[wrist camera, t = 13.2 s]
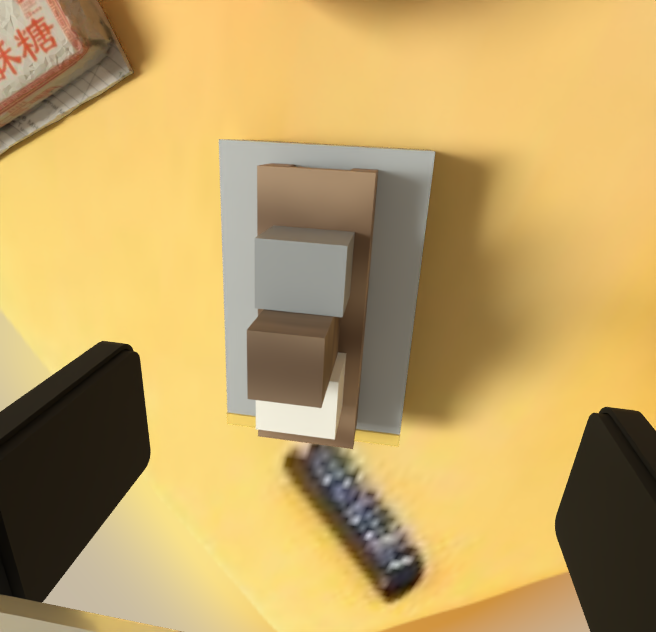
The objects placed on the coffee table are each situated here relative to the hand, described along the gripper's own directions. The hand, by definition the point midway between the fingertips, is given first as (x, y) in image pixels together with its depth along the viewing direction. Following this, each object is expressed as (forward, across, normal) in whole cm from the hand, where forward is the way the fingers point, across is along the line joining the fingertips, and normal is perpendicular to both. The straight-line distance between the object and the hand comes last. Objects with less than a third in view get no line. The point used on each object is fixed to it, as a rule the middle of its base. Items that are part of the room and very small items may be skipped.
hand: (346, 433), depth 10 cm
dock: (+28, +5, +7) cm, 29 cm away
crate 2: (+19, +4, +10) cm, 22 cm away
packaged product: (+29, +30, -8) cm, 42 cm away
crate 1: (+20, +4, +2) cm, 20 cm away
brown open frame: (+23, +4, +6) cm, 24 cm away
